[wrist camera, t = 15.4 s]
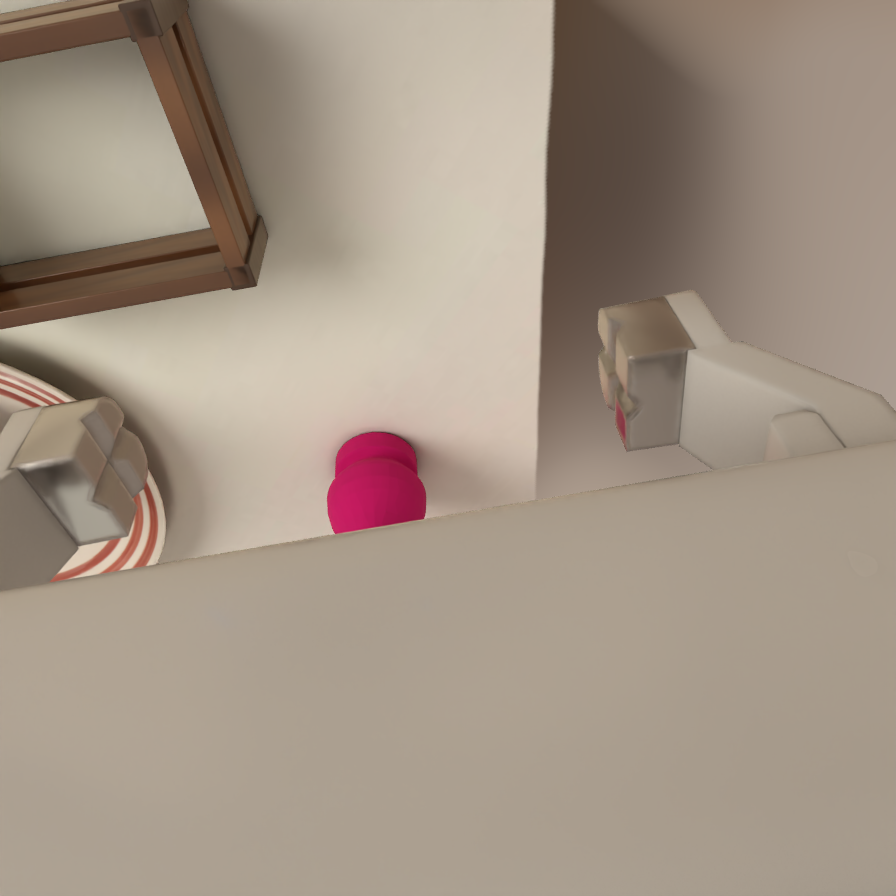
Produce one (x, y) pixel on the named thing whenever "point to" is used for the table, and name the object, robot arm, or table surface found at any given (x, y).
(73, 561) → the dinner plate
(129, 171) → the table surface
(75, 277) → the crate
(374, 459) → the pepper mill
